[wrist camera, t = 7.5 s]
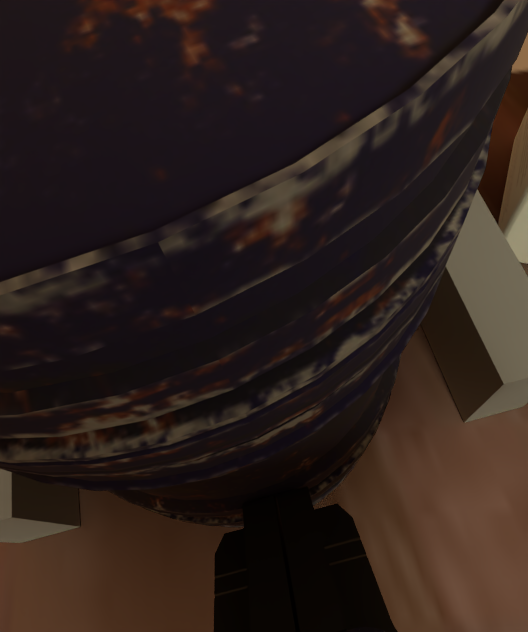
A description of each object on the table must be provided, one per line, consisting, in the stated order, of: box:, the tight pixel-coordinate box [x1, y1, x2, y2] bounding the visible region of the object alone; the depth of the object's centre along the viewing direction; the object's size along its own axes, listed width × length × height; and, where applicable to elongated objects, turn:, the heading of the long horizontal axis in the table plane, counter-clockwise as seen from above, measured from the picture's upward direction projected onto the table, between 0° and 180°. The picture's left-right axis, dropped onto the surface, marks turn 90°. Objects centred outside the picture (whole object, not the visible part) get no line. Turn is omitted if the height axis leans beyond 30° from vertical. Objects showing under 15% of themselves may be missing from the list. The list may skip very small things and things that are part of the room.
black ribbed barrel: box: [0, 0, 528, 527], centre depth 11 cm, size 10×10×15 cm
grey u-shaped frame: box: [0, 190, 528, 543], centre depth 16 cm, size 17×10×5 cm, turn 104°
